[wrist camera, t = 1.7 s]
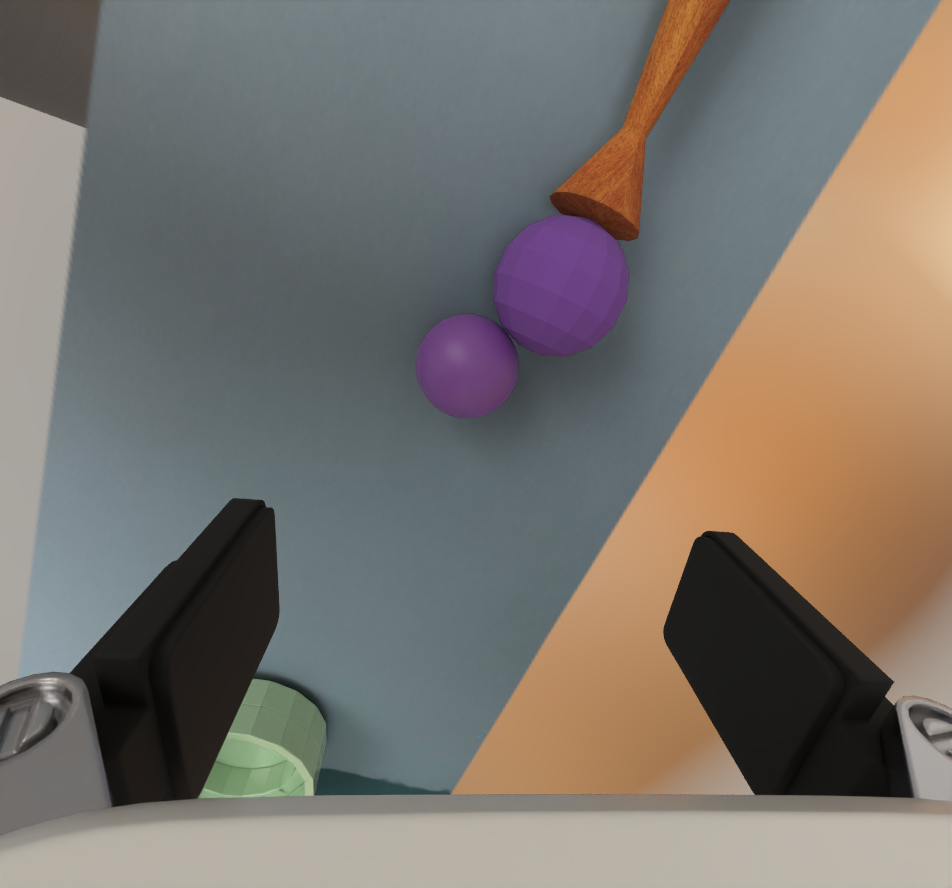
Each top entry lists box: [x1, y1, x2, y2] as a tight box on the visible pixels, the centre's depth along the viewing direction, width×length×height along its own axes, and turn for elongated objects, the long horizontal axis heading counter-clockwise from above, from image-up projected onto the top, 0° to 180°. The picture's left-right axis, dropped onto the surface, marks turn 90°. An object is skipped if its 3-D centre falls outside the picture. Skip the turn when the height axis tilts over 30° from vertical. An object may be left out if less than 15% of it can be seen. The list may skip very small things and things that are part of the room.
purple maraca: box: [493, 0, 730, 356], centre depth 19 cm, size 6×6×20 cm
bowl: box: [197, 679, 327, 799], centre depth 31 cm, size 11×11×4 cm
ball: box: [416, 314, 519, 418], centre depth 22 cm, size 5×5×5 cm
